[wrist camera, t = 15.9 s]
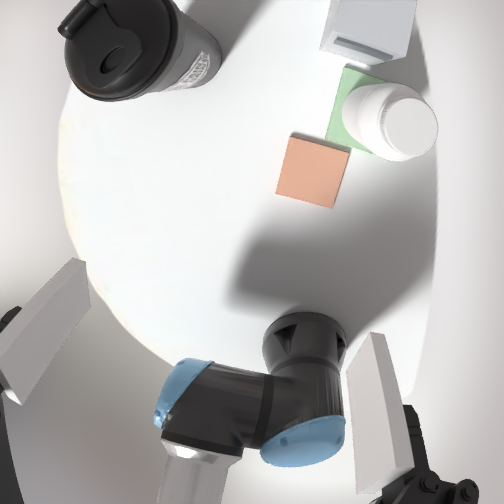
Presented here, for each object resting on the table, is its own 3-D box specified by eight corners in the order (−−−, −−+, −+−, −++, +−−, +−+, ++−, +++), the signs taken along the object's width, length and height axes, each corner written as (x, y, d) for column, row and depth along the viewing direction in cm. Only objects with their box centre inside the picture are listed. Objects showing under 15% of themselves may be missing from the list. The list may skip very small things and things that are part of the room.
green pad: (393, 160, 39) (395, 161, 38) (325, 138, 39) (325, 139, 38) (413, 93, 34) (415, 93, 33) (343, 67, 34) (344, 67, 33)
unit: (371, 68, 33) (405, 60, 22) (318, 52, 33) (331, 34, 22) (385, 6, 28) (420, -22, 17) (333, -11, 28) (350, -48, 17)
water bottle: (184, 109, 39) (84, 135, 19) (141, 57, 35) (23, 49, 15) (244, 63, 35) (191, 31, 15) (198, 10, 32) (111, -50, 12)
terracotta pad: (331, 206, 43) (331, 208, 42) (275, 191, 43) (275, 193, 42) (348, 152, 39) (349, 153, 38) (289, 136, 39) (289, 137, 38)
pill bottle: (399, 88, 33) (453, 91, 20) (396, 147, 37) (445, 177, 24) (340, 81, 34) (369, 76, 21) (339, 142, 38) (365, 169, 25)
